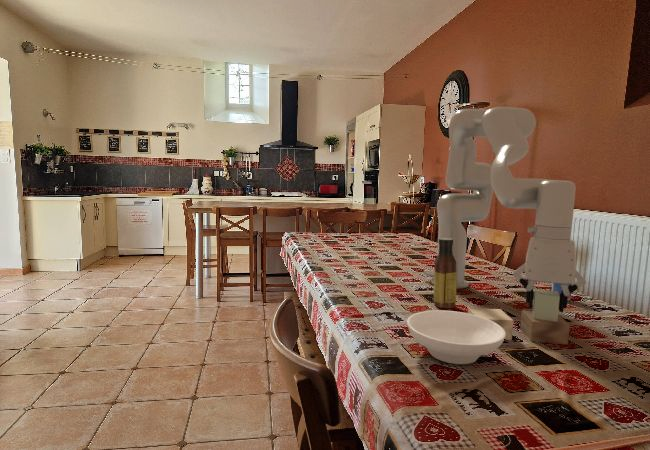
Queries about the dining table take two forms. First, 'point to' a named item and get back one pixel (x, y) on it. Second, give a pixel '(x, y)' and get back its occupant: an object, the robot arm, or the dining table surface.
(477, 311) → the beech block
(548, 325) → the tan square block
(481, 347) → the bowl
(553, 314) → the sage block
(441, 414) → the dining table surface
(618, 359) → the dining table surface
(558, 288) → the pill bottle
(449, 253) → the sauce bottle
